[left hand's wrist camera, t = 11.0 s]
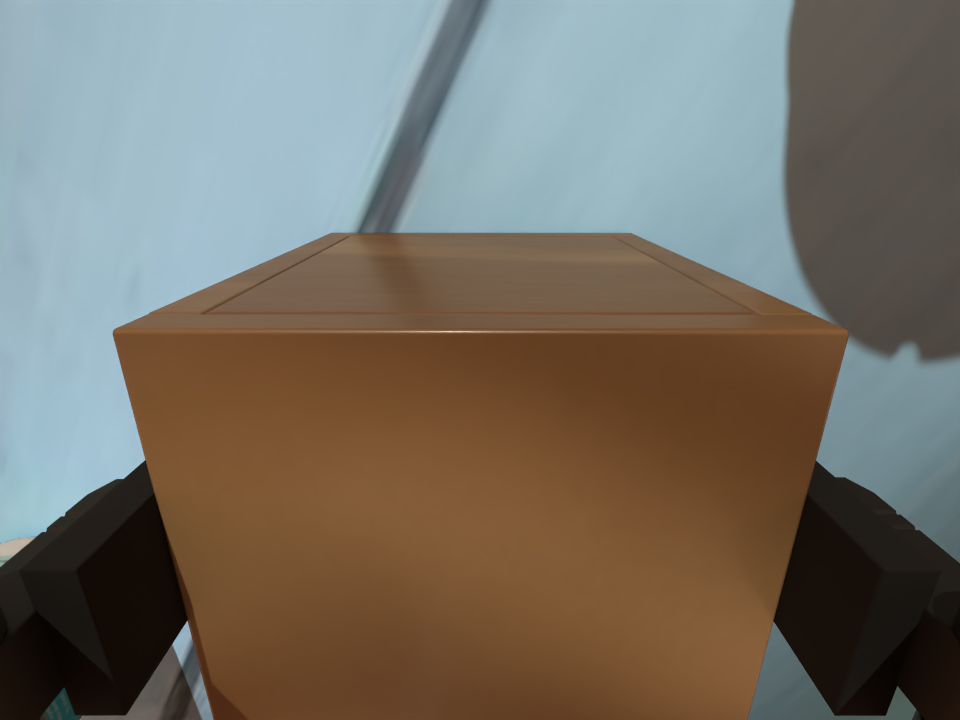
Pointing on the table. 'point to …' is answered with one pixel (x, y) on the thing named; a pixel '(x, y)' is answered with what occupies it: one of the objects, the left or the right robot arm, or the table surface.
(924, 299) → the table surface
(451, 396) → the cabinet
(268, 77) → the table surface
